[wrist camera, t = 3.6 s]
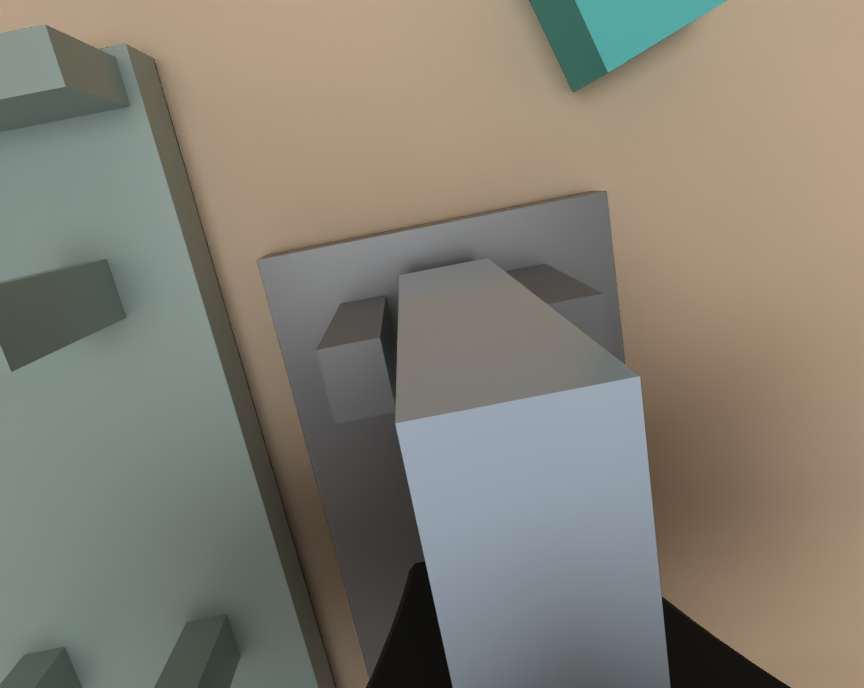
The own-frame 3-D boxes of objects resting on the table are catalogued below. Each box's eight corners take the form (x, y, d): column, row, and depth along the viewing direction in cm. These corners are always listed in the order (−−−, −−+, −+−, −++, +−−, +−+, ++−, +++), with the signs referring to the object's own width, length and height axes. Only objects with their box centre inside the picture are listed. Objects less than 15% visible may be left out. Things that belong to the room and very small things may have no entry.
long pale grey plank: (567, 753, 12) (731, 1309, 6) (498, 766, 12) (593, 1335, 6) (488, 258, 9) (638, 376, 3) (399, 275, 9) (394, 424, 3)
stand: (646, 675, 13) (738, 856, 10) (391, 725, 13) (387, 927, 10) (591, 190, 11) (692, 192, 7) (267, 254, 11) (196, 290, 7)
